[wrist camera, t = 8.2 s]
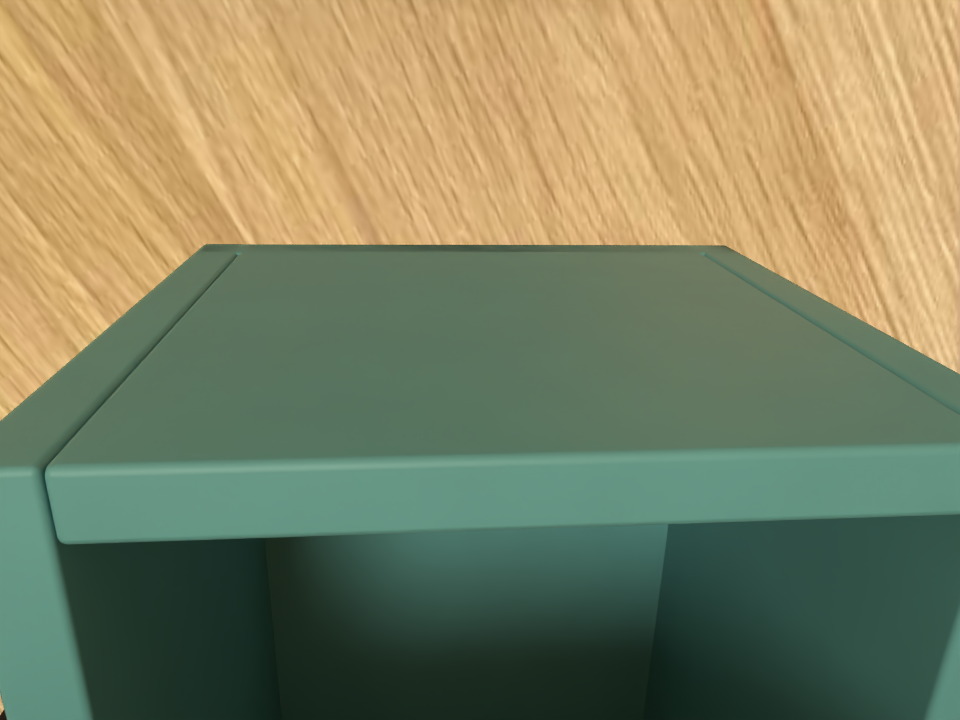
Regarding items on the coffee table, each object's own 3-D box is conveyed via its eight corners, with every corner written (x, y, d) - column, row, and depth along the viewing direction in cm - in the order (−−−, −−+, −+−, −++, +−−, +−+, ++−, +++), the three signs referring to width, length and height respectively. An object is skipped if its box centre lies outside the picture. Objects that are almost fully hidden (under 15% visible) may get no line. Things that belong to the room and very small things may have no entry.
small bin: (727, 244, 10) (1093, 442, 4) (653, 765, 13) (817, 1227, 8) (202, 243, 9) (-65, 470, 4) (264, 791, 12) (161, 1309, 7)
